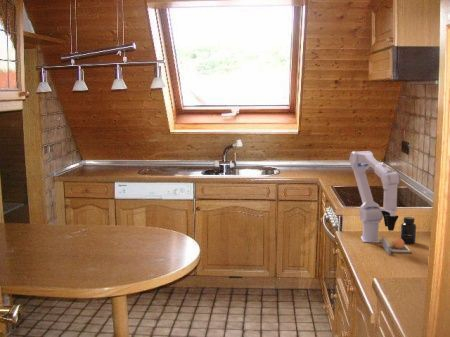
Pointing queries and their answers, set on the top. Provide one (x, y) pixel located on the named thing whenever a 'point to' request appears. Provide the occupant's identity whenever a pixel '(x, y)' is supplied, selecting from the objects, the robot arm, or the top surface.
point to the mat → (400, 250)
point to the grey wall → (386, 245)
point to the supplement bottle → (408, 230)
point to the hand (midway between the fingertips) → (389, 228)
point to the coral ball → (398, 243)
